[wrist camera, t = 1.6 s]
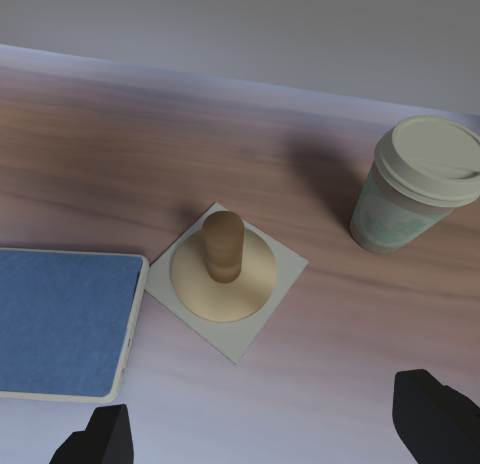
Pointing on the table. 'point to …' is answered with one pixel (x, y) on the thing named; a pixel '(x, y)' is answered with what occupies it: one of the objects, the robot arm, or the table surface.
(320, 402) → the table surface
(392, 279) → the table surface
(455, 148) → the coffee cup
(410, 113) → the table surface
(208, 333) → the coaster
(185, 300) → the lid
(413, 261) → the table surface
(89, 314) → the tablet computer
